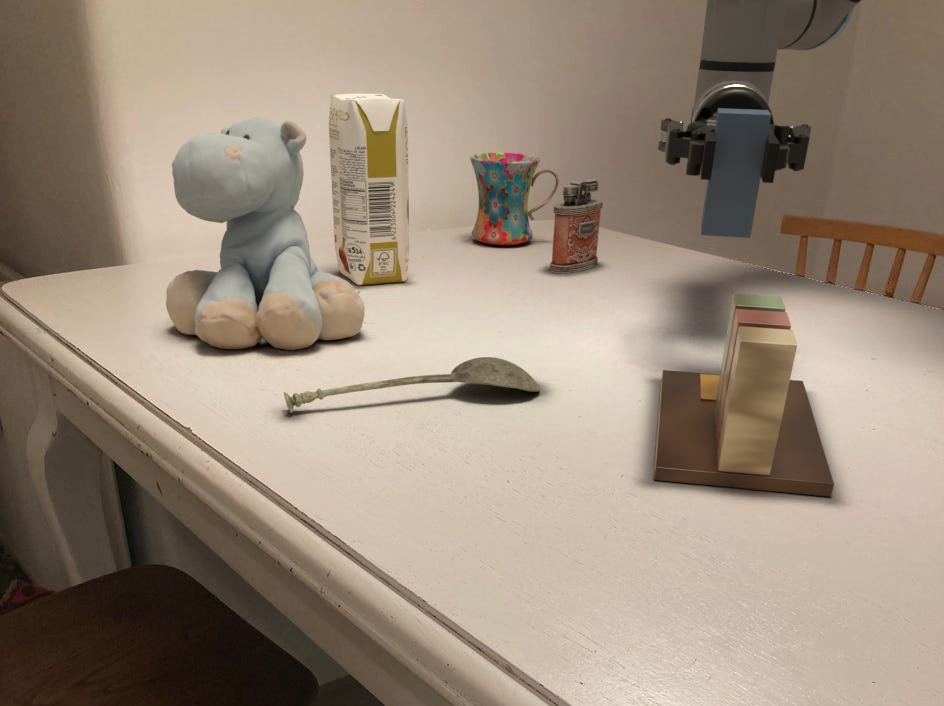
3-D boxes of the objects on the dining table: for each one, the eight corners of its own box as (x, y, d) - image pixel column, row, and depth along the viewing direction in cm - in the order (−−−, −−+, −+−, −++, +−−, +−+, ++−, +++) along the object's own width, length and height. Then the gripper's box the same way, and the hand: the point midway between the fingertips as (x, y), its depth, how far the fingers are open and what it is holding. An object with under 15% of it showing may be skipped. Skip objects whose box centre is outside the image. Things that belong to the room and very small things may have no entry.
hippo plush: (135, 336, 93) (98, 123, 83) (293, 289, 109) (278, 106, 99) (275, 372, 85) (254, 140, 75) (424, 316, 101) (423, 118, 91)
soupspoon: (552, 407, 81) (522, 386, 86) (555, 367, 79) (524, 348, 85) (292, 425, 74) (277, 400, 80) (290, 381, 73) (275, 359, 78)
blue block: (748, 229, 83) (768, 110, 78) (750, 238, 79) (771, 114, 74) (700, 226, 83) (717, 108, 78) (700, 235, 80) (718, 112, 75)
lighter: (565, 274, 118) (571, 186, 113) (543, 270, 120) (548, 182, 115) (603, 264, 123) (611, 179, 118) (582, 260, 125) (589, 175, 120)
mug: (467, 247, 130) (468, 160, 124) (469, 234, 138) (471, 151, 132) (555, 250, 130) (561, 163, 124) (553, 236, 137) (558, 154, 132)
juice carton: (354, 288, 111) (346, 99, 100) (331, 271, 117) (321, 93, 107) (415, 283, 113) (413, 98, 103) (389, 267, 120) (385, 92, 109)
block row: (800, 391, 84) (827, 271, 78) (831, 497, 66) (868, 351, 60) (661, 380, 85) (677, 262, 80) (653, 480, 67) (673, 336, 62)
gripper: (814, 177, 93) (844, 220, 74) (637, 169, 96) (622, 208, 77) (831, 88, 89) (868, 110, 70) (646, 82, 92) (633, 101, 73)
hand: (739, 161), depth 74 cm, fingers closed on blue block, 4 cm apart
